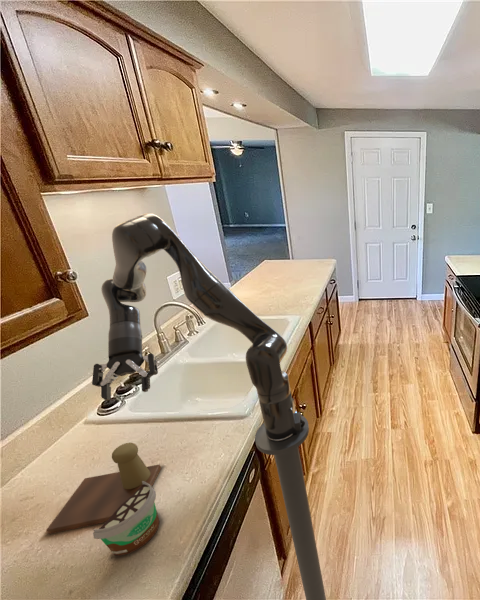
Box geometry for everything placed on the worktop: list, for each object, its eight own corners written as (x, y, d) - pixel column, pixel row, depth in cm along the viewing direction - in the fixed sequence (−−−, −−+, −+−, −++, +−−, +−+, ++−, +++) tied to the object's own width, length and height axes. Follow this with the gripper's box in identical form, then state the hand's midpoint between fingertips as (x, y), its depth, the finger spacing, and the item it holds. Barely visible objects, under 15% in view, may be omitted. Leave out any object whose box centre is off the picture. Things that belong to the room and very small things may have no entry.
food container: (132, 568, 69) (115, 537, 65) (107, 562, 70) (90, 532, 66) (178, 511, 80) (166, 482, 77) (156, 507, 81) (144, 478, 78)
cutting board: (161, 468, 92) (160, 464, 92) (137, 515, 80) (135, 511, 79) (86, 482, 89) (84, 478, 88) (48, 534, 76) (46, 530, 75)
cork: (148, 465, 91) (136, 435, 87) (152, 479, 87) (138, 448, 83) (121, 478, 88) (106, 447, 84) (123, 493, 84) (108, 461, 79)
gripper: (87, 341, 90) (86, 400, 84) (149, 331, 95) (151, 386, 89) (102, 349, 96) (101, 404, 91) (159, 339, 101) (162, 390, 96)
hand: (126, 395), depth 90 cm, fingers open, 8 cm apart
